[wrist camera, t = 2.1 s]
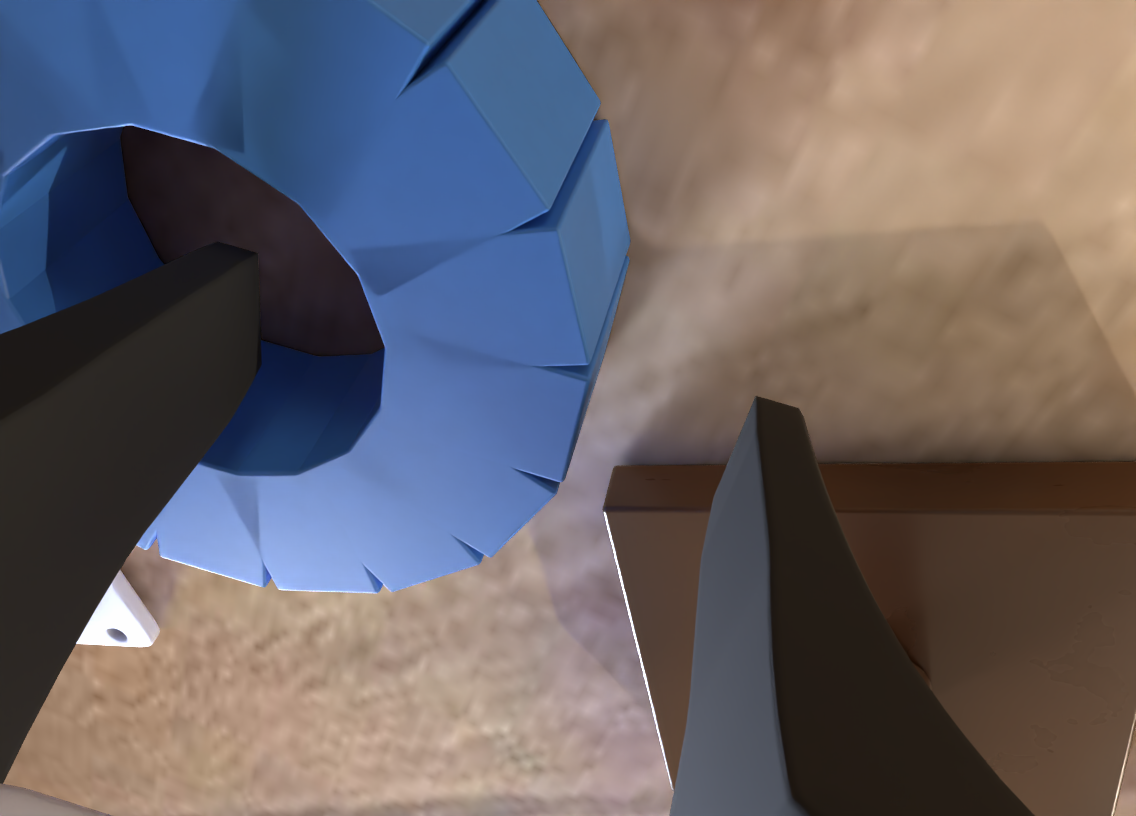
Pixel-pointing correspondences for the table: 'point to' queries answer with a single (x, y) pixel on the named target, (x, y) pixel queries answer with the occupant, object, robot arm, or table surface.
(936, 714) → the robot arm
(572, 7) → the table surface
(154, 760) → the table surface
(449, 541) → the tape
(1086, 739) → the stand
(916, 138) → the table surface
